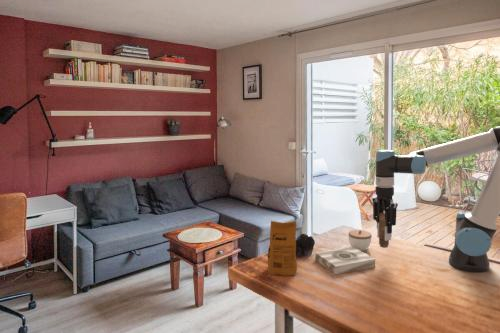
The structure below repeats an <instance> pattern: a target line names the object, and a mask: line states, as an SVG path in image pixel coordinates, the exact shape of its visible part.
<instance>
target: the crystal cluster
mask: <svg viewBox="0 0 500 333" xmlns="http://www.w3.org/2000/svg"><path fill="white" fill-rule="evenodd" d="M315 244H316V242H315V239H314V237H313V236H311V235H310V236H309V235H308V234H306V233H301V234H299V236H297V238H296V258H306V257H311V255H312V253H313V251H314V247H315Z"/></svg>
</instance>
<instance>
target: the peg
mask: <svg viewBox="0 0 500 333" xmlns="http://www.w3.org/2000/svg"><path fill="white" fill-rule="evenodd" d="M385 225H386V218H385V211H384V212H380V213H379V238H378V244H379V247H380V248H382V249H383V248H384V249H387V248H388V247H389V245H390V244H389V243H390V240H387V241H385Z"/></svg>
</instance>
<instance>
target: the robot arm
mask: <svg viewBox="0 0 500 333" xmlns="http://www.w3.org/2000/svg"><path fill="white" fill-rule="evenodd" d="M491 151H496V153H497V158H496V160H495V162H494V164H493V167H492V169H491V171H490V173H489V175H488V177H487V179H486V181H485V183H484V185H483V187H482V189H481V191H480V193H479V196H478V197H477V199H476V201H475V203H474V206H473V208H472V210H471V211H459V212H457V214H456V217H455V219H456V220H455V234H454V246H453V248H452V249H451V252H450V254H449V256H448V263H449V264H450V265H451V266H452V267H454V268H456V269H458V270H463V271H466V272H473V273H483V272H487V271H489V270H490V260H489V256H488V254H487V253H488V252H489V251H490V249H491V248H492V242H493V241H492V240H493V238H494V236H495V234H496V232H497V230H498V226H497V223H496V221H497V220H498V218H499V216H500V125H498V126H494V127H491V128H490V129H489V131H487V132H482V133H479V134H475V135H471V136H467V137H464V138H460V139H456V140H453V141H452V140H451V141H448V142H446V143H442V144H438V145H433V146H430V147H427V148H423V149H420V150H413V151H410V152H408V153H406V155H399V154H396V152H395V150H391V149H379V150H377V151H376V153H375V187H374V188H375V195H376V197H372V198H371V201H372V209H373V210H372V213H373V214H372V217H373V220H374V221H375V222H376V229H377V230H376V231H377V232H376V233H377V234H376V236H377V238H378V239H379V213H380V212H385V218H386V225H385V241H387V240H389V241H391V240H392V232H393V230H392V229H393V226H397V209H398V205H399V204H398V203H397V202H394V199H393V196H394V195H395V187H394V186H395V174H411V175H412V174H413V175H420V174H421V175H423V174H425V172H426V169H427V168H426V167H428V166H432V165H436V164H441V163H445V162H449V161H453V160H454V161H455V160H457V159H461V158H466V157H470V156H473V155H478V154H482V153H486V152H491Z"/></svg>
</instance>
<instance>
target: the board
mask: <svg viewBox="0 0 500 333" xmlns="http://www.w3.org/2000/svg"><path fill="white" fill-rule="evenodd" d="M314 254H315V255H314V256H315V258H314V260H315V261H316V262H317V263H319V264H320V265H321V266H323V267H325V268H326V269H327V270H329V271H330V272H331V273H333V274H334V275H338V274H343V273H349V272H354V271H359V270H365V269H369V268H373V267H376V258H375V257H373V256H371V255H369V254H368V253H366V252H365V251H360V250H358V249H356V248H355V247H353V246H347V247H340V248H336V249H335V248H334V249H330V250H325V251H323V250H322V251H317V252H315V253H314Z"/></svg>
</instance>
